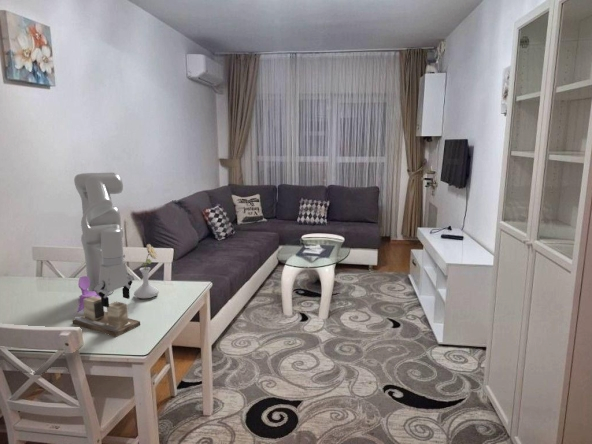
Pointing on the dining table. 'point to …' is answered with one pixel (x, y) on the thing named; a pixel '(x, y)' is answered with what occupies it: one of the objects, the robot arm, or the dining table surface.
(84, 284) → the toy chair
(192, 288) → the dining table surface
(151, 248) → the flower in vase
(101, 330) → the rail board
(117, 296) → the dining table surface
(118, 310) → the wooden block
